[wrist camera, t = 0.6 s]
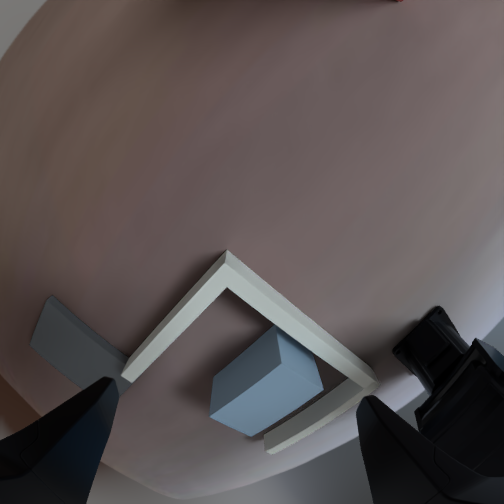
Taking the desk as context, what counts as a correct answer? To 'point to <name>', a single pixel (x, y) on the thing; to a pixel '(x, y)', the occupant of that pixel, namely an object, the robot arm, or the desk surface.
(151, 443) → the desk surface
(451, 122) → the desk surface
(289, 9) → the desk surface
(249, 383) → the blank block
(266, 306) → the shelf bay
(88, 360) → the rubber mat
